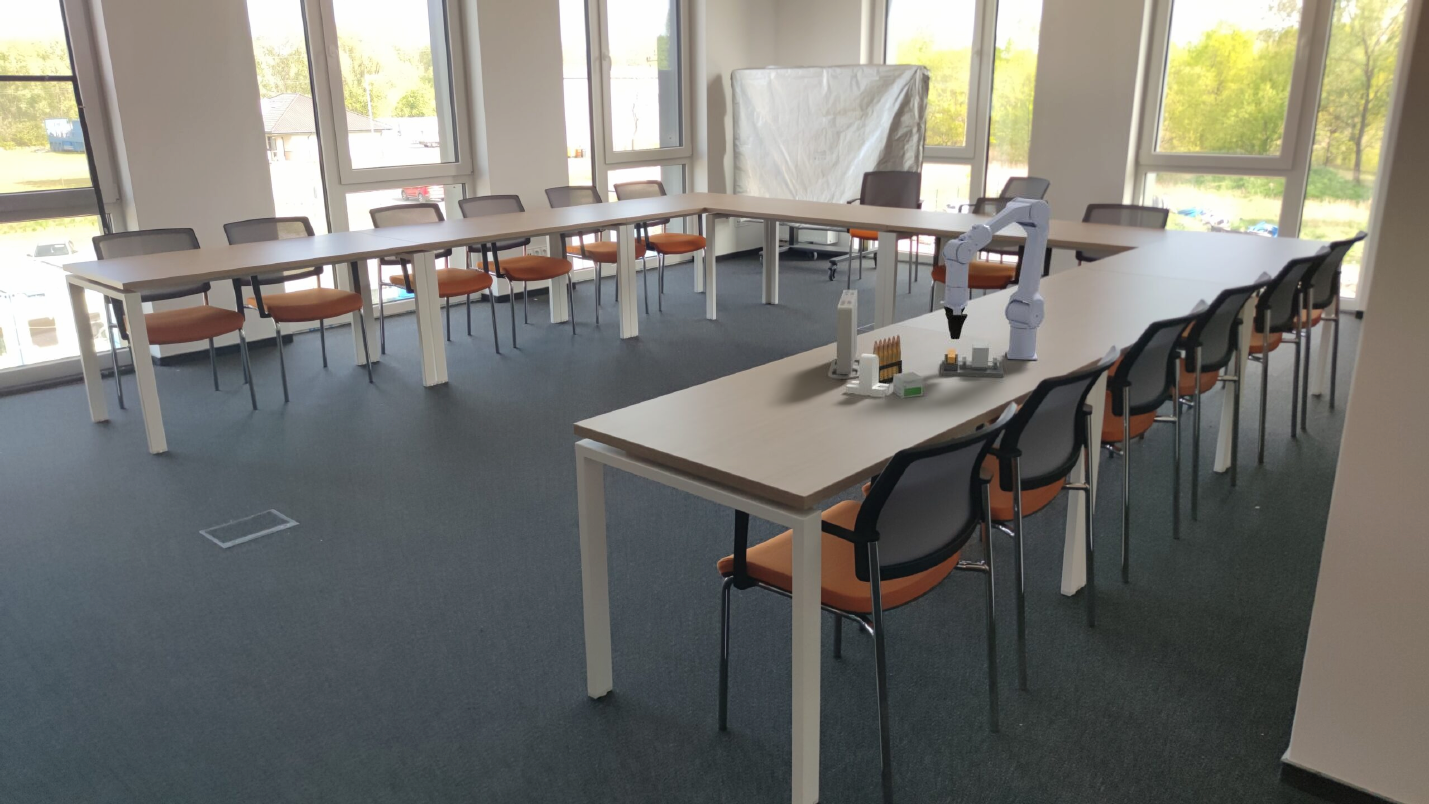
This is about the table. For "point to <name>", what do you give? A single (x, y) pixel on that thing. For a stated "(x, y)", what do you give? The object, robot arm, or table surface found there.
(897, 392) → the small box
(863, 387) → the cable organizer
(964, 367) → the gray slotted fixture
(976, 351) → the block
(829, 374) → the network device
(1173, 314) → the table surface
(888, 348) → the ammunition clip
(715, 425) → the table surface
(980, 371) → the mounting board
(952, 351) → the locking tab
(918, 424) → the table surface
